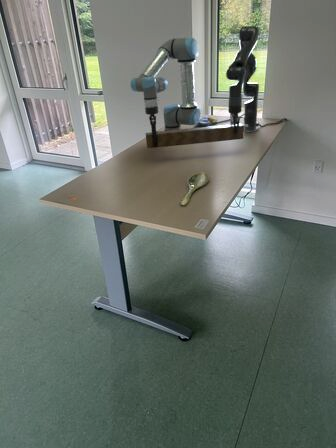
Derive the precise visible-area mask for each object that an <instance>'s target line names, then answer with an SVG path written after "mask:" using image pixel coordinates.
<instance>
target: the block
mask: <svg viewBox="0 0 336 448" xmlns="http://www.w3.org/2000/svg"><path fill="white" fill-rule="evenodd" d="M236 126H237V124H236ZM156 134H157V143H158V147H153V138H152V137H151V136H152V131H150V132H145V141H146V149H157V148H166V147H177V146H187V145H197V144H207V143H214V142H215V143H216V142H227V141H236V140H243V139H244V135H245V131H244V123H239V128H238V133H237V134H234V125H233V124H221V125H210V126H207V127H201V128H197V127H192V128H181V130H171V131H164V130H163V131H157V132H156Z"/></svg>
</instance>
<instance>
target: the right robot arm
mask: <svg viewBox="0 0 336 448" xmlns="http://www.w3.org/2000/svg"><path fill="white" fill-rule="evenodd" d="M259 28H260V27H258V26H257V25H256V26H255V25H253V26H251V25H250V26H249V25H245V26H241V27H240V29H239V32H238V39H239V47H240V49H239V50H238V51H237V53H236V55H235V57H234V59H233V61H232V63H231V64H229V66H228V68H227V69H226V72H225V77H226V79H227V80H228V81H229V82H230V81H234V82H235V81H237V83H235V84H232V85H230V86H229V89H228V110H227V111H228V113H229V119H230V120H229V125H231V124H233V125H234V134H237V133H238V128H239V124H240V122H241V121H240V120H241V117H239V116H240V115H239V114H240V113H242V105H244V106H243V114H244V115H243V125H244V133H253V132H256V131H257V127H260V128H264V127H266V126H269V125H277V124H279V123H280V122H283V121H284V120H285V121H288V120H287V118H286V117H284V118H282V119H279V120H278V121H276V122H269V123H265V124H263V125H261V124H260V122H258V121H257V120H258V105H259V104H258V102H259V92H260V84H259V83H258V82H249V81H250V80H251V78H252V77H253V76H254V74H255V72H256V71H257V57H256V56H255V54H254V53H253V50H254V48H255V46H256V45H257V43H258V40H259V37H260V29H259ZM242 96H243V97H244V98H252V99H250V100H248V101H245V102H244V103H243V101H242V100H243V99H242ZM242 103H243V104H242ZM236 124H237V126H236Z"/></svg>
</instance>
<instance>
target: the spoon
mask: <svg viewBox="0 0 336 448" xmlns="http://www.w3.org/2000/svg"><path fill="white" fill-rule="evenodd" d="M209 180H210V176H209V174H208V173H206V172H203V171H200V172H199V171H198V172H195V173H194V174H192V175H191V176H189V178H188V180H187V185H188V187H189V188H188V189H189V190H188V192H187V193H186V195H185V196H184V197H183V198H182V200H181V202H180V206H183V207H185V206H187V205H188V203H189V201H190V199H191V197H192V195H193V193H194V191H196V190H197V189H199V188H201V187H203V186H205V185H206V184H207V183H208V182H209Z"/></svg>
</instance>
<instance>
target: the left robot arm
mask: <svg viewBox="0 0 336 448" xmlns="http://www.w3.org/2000/svg"><path fill="white" fill-rule="evenodd" d="M199 53H200V49H199V44H198V41H197V39H195V38H194V37H179V38H170V39H168V40H166V41H165V42H164V43H163V44H161V45H160V46H159V48H158V49H157V50H156V53H155V55H154V57H152V59H151V61H149V63H148V64H147V66H146V67H145V68H144V69H143V70H142V72H141V73H140V75H139V76H138V77H135V78H132V79H131V80H130V88H131V91H133V92H138V93H143V104H144V112H145V115H149V116H148V120H149V125H150V128H151V130H150V132H152V136H151V137H152V138H153V147H158V143H157V134H156V132H158V131H157V116H156V115H157V114H158V113H159V106H158V105H159V104H158V102H159V99H158V94H159V93H163V92H164V91H165V90H167V89H168V88H169V87H168V86H169V82H168V80H167V78H166V77H164V76H159V77H156V76H157V75H158V74H159V72H160V71H161V70H162V68H163V67H164V66H165V65H166V64H167V63H169V62H170V60H177V64H178V65H179V69H180V87H181V90H180V91H181V104H170V105H166V106H165V107H164V108H163V122H164V130H163V131H171V130H181V129H182V125H183V126H197V125H196V124H197V123H198V121H199V120H200V119H201V109H200V108H199V107H198V104H197V102H195V101H196V100H195V99H196V98H195V76H194V75H195V72H194V64H195V63H196V60H197V58H198V57H199ZM238 116H239V118H242V117H244V113H242V114H241V115H238ZM225 122H230V118H229V119H224V120H220V121H217V122H215V123H211V122H210V123H211V125H210V126H213V125H217V124H220V123H221V124H222V123H225ZM201 127H203V126H197V127H196V128H201ZM158 148H159V147H158Z"/></svg>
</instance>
